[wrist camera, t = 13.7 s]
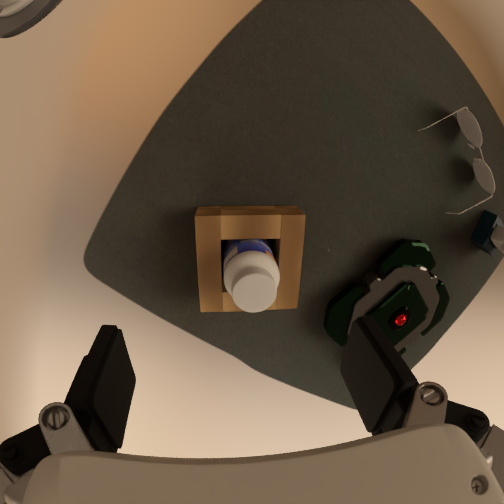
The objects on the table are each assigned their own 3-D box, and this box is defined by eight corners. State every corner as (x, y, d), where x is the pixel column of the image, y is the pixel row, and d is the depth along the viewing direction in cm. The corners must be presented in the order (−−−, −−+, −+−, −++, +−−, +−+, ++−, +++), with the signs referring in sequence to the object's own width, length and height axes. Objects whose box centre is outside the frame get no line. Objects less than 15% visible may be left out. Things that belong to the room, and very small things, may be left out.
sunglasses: (479, 188, 34) (497, 199, 30) (441, 212, 37) (458, 226, 32) (451, 104, 29) (472, 106, 25) (409, 126, 32) (427, 130, 27)
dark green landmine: (408, 222, 35) (428, 234, 31) (446, 299, 41) (461, 313, 37) (308, 310, 39) (318, 330, 34) (367, 367, 45) (377, 386, 41)
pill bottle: (278, 242, 34) (298, 280, 26) (255, 279, 36) (267, 326, 27) (236, 221, 33) (242, 255, 24) (215, 261, 35) (213, 306, 26)
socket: (202, 294, 36) (200, 312, 32) (197, 206, 32) (194, 216, 28) (290, 291, 37) (297, 308, 34) (296, 205, 33) (305, 215, 29)
